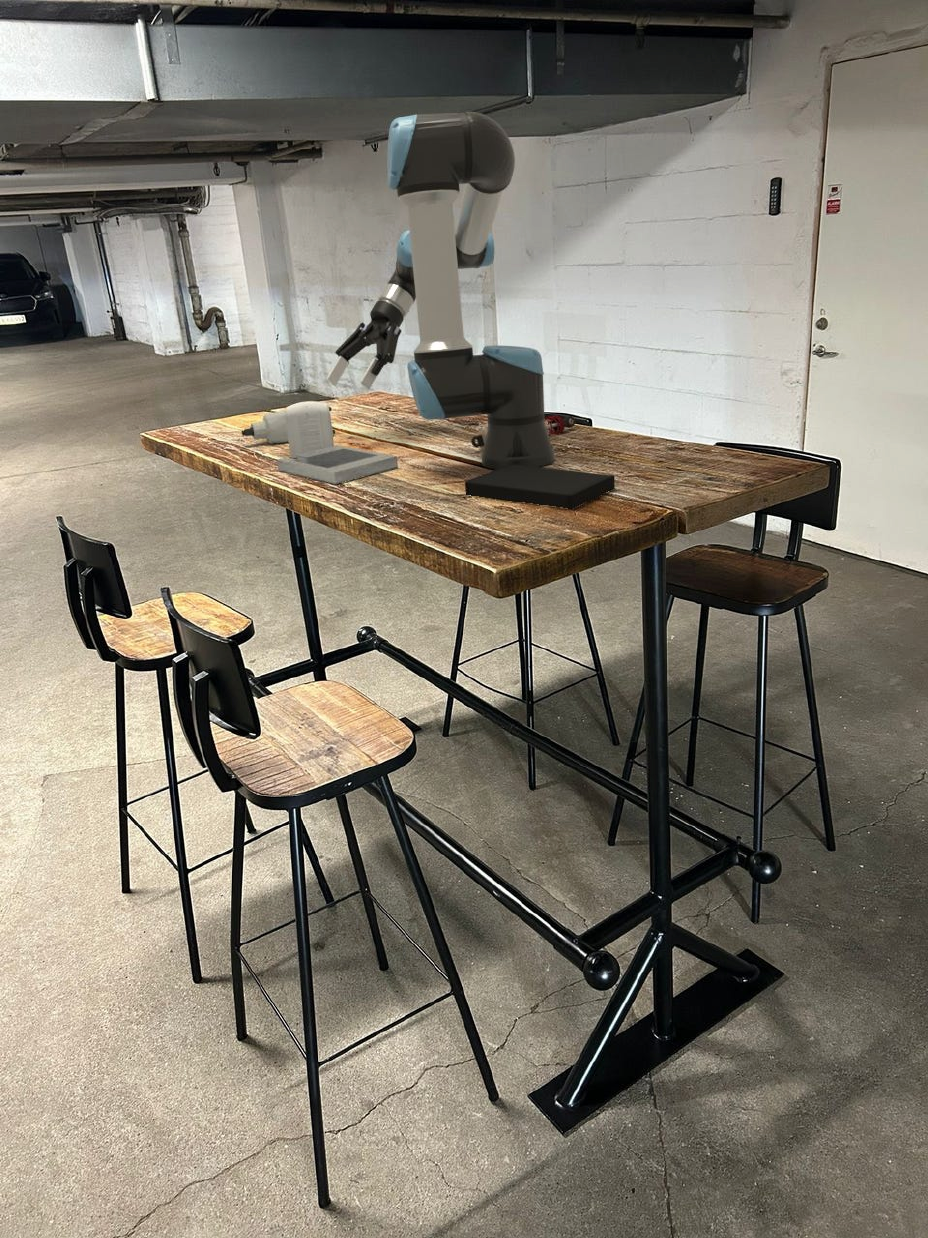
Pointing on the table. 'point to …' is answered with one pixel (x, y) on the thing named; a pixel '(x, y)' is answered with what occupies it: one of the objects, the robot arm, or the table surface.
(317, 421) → the photo printer
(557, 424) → the shock absorber
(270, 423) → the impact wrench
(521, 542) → the table surface
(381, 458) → the plate
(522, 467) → the external hard drive
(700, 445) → the table surface
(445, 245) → the robot arm
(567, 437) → the table surface
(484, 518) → the table surface
